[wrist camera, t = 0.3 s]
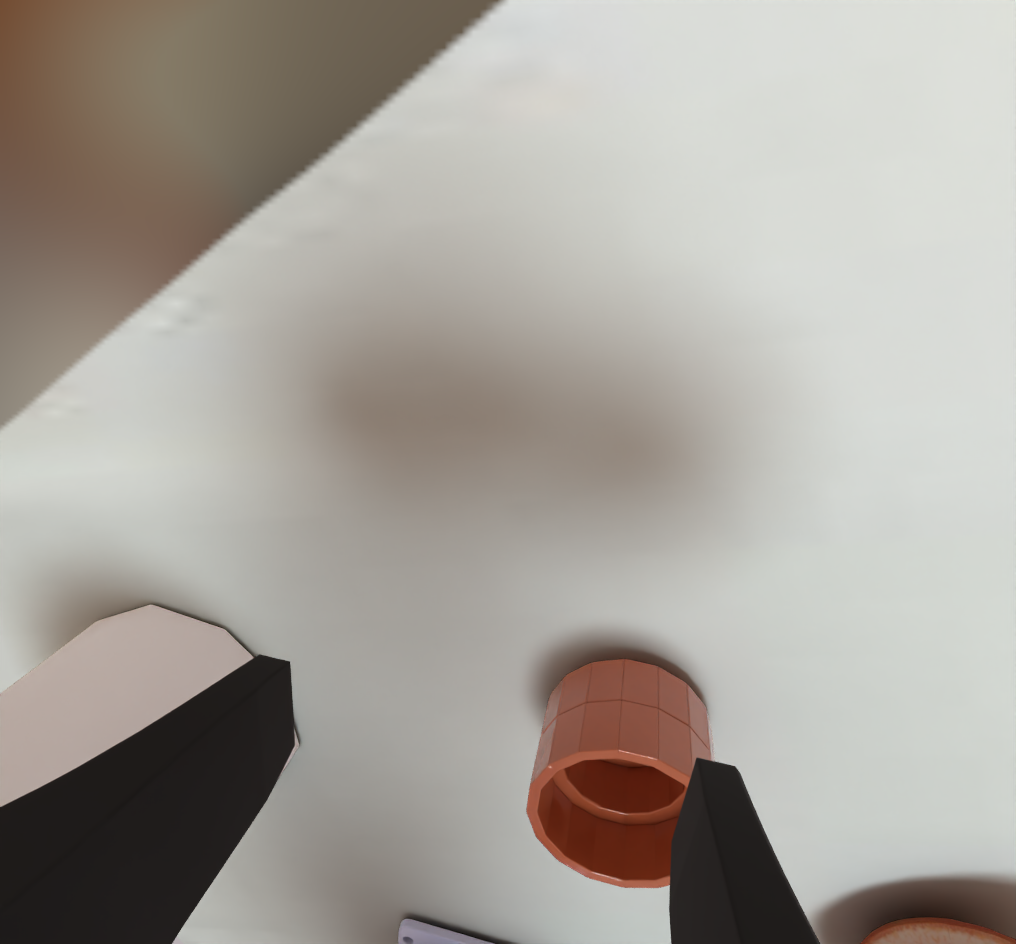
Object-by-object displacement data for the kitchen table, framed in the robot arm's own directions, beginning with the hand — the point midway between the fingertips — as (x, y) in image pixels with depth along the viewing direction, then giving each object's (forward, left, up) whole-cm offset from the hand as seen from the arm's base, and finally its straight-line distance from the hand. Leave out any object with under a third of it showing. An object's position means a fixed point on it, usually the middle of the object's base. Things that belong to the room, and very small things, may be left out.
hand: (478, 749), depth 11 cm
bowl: (-8, -4, -10) cm, 13 cm away
